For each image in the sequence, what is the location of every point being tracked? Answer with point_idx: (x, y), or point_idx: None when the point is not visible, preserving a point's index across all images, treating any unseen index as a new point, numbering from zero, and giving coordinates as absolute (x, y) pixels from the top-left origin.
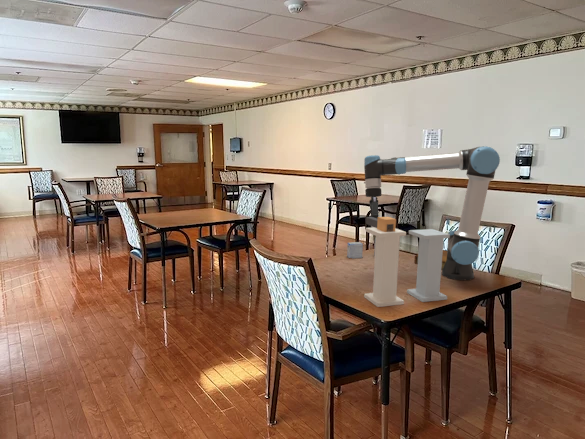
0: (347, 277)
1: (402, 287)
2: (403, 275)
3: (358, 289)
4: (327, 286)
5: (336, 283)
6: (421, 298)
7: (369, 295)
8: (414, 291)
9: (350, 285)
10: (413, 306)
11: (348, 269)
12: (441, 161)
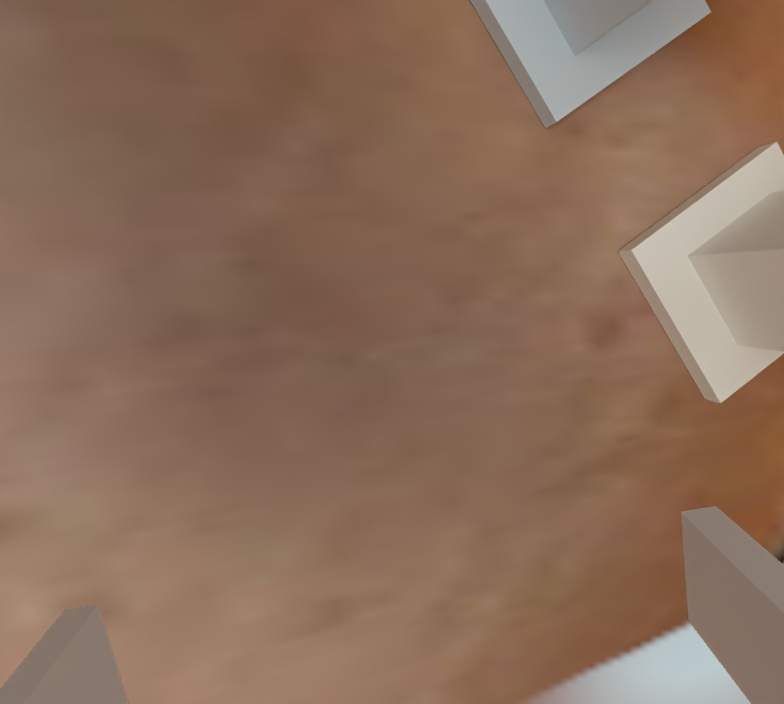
0: (334, 600)
1: (435, 163)
2: (84, 162)
3: (577, 461)
4: (581, 662)
5: (502, 630)
6: (696, 22)
7: (743, 366)
8: (584, 66)
9: (513, 531)
10: (777, 86)
11: None
12: None
